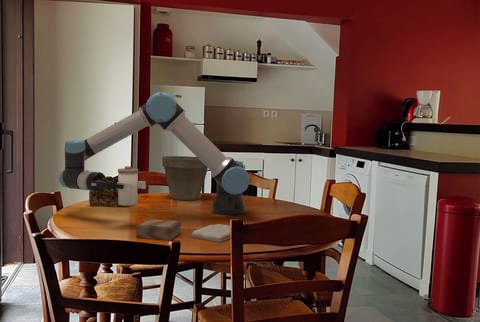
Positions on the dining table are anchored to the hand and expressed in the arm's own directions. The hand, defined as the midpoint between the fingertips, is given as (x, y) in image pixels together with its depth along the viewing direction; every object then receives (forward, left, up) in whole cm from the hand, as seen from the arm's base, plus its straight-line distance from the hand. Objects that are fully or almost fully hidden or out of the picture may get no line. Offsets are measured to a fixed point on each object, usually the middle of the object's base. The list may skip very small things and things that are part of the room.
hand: (138, 186), depth 174 cm
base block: (-11, +9, -15) cm, 21 cm away
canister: (+5, -2, -7) cm, 9 cm away
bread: (+27, -40, -16) cm, 51 cm away
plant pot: (+1, -73, -16) cm, 74 cm away
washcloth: (-31, +3, -16) cm, 35 cm away
